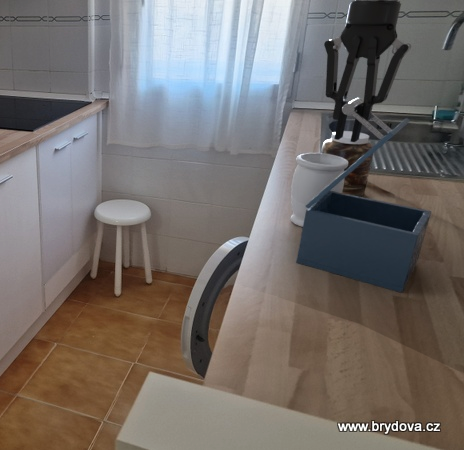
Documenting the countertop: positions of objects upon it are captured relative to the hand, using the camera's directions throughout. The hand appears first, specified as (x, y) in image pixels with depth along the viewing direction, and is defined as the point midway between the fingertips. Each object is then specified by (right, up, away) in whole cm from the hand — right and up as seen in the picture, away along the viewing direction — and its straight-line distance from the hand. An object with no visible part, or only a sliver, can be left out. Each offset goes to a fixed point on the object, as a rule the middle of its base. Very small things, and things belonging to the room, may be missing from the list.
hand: (346, 139), depth 99 cm
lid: (+2, -5, 0) cm, 5 cm away
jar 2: (+21, -7, +44) cm, 49 cm away
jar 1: (+4, -15, +24) cm, 29 cm away
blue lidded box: (+5, -23, +6) cm, 24 cm away
